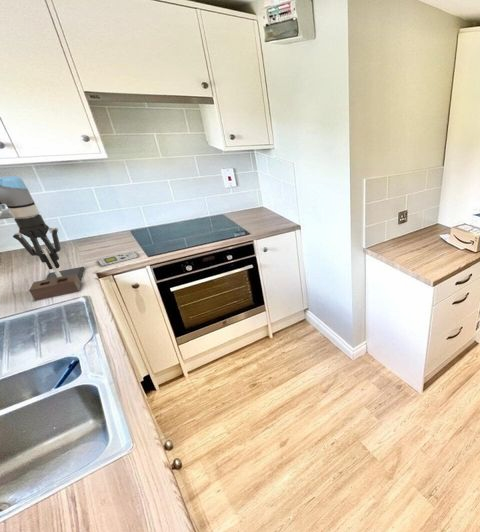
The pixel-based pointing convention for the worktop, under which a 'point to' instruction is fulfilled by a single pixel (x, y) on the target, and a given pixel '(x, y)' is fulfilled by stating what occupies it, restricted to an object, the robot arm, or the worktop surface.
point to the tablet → (68, 273)
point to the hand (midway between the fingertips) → (54, 267)
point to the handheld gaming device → (117, 258)
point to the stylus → (51, 262)
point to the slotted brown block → (55, 287)
